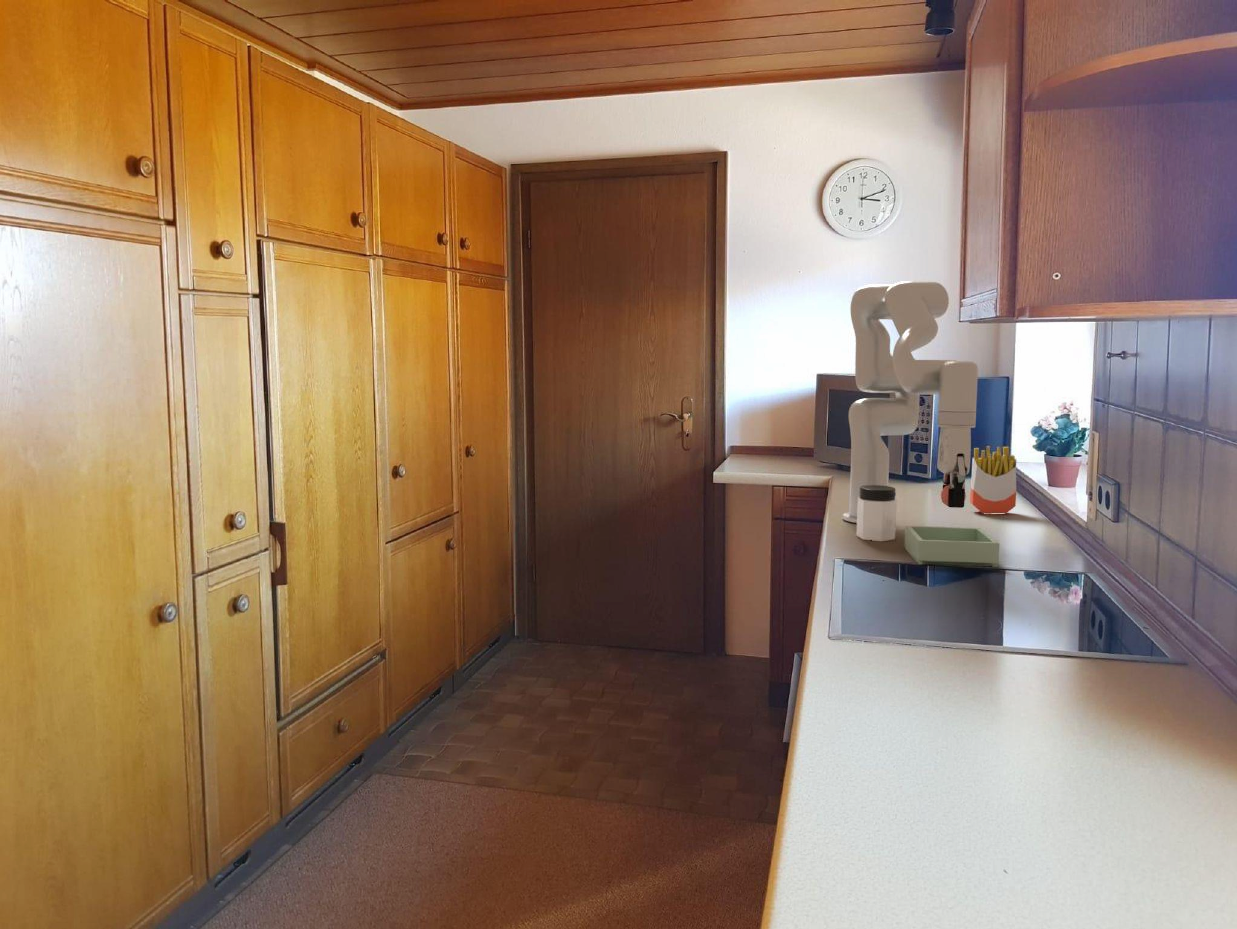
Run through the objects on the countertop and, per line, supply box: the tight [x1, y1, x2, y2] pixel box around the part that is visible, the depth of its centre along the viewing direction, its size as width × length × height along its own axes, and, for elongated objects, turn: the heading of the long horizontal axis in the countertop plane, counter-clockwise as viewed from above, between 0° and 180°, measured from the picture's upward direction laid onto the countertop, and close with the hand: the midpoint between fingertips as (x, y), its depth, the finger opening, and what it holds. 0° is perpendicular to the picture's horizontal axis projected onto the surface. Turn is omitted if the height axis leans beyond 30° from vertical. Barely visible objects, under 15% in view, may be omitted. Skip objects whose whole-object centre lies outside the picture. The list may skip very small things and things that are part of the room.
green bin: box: [904, 525, 1000, 568], centre depth 200 cm, size 16×16×5 cm
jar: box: [855, 485, 898, 543], centre depth 219 cm, size 9×8×12 cm
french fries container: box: [969, 445, 1017, 514], centre depth 251 cm, size 5×11×18 cm, turn 79°
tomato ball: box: [940, 484, 967, 507], centre depth 198 cm, size 5×5×5 cm
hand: (952, 504), depth 198 cm, fingers closed on tomato ball, 4 cm apart
